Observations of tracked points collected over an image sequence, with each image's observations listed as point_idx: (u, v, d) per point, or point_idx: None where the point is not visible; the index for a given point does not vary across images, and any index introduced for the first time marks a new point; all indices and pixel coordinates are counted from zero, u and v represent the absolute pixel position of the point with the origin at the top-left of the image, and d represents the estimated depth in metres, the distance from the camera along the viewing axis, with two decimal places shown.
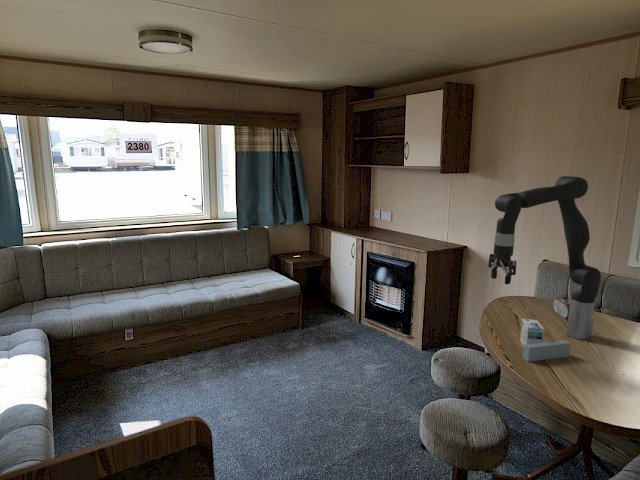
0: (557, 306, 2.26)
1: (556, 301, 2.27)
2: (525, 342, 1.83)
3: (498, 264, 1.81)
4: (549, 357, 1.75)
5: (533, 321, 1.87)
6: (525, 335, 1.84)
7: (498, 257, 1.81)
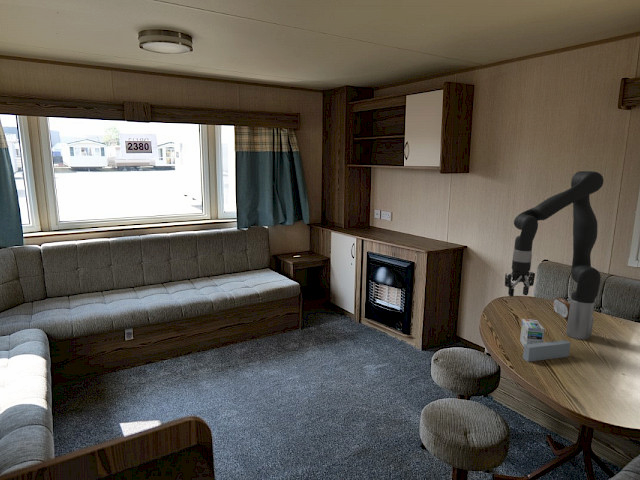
0: (557, 306, 2.26)
1: (556, 301, 2.27)
2: (525, 342, 1.83)
3: (520, 280, 1.90)
4: (549, 357, 1.75)
5: (533, 321, 1.87)
6: (525, 335, 1.84)
7: (519, 274, 1.90)
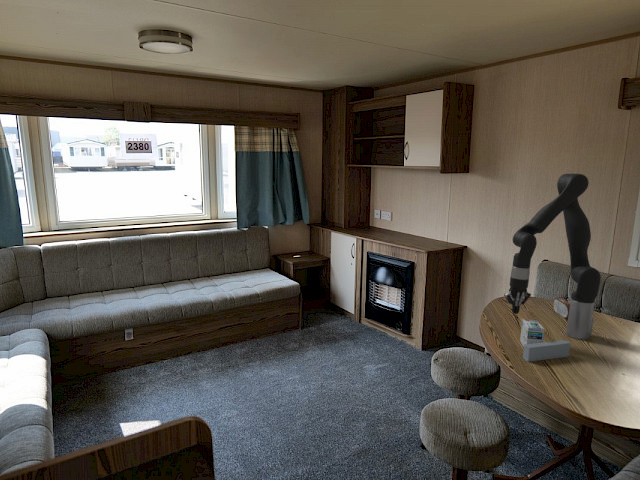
0: (557, 306, 2.26)
1: (556, 301, 2.27)
2: (525, 342, 1.83)
3: (519, 295, 1.92)
4: (549, 357, 1.75)
5: (533, 321, 1.87)
6: (525, 335, 1.84)
7: (517, 290, 1.91)
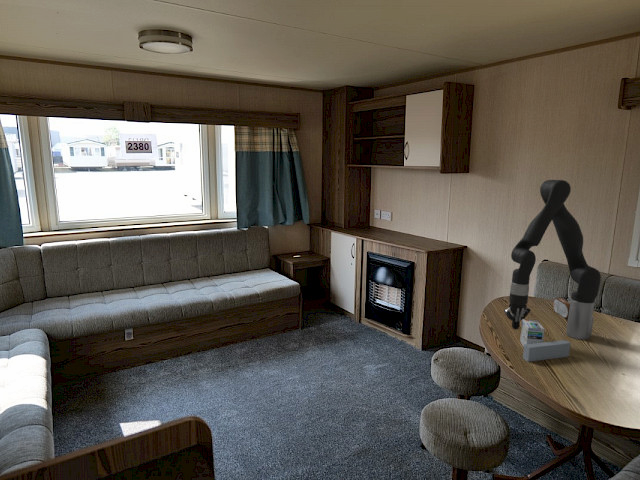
0: (557, 306, 2.26)
1: (556, 301, 2.27)
2: (525, 342, 1.83)
3: (519, 310, 1.93)
4: (549, 357, 1.75)
5: (533, 321, 1.87)
6: (525, 335, 1.84)
7: (517, 306, 1.92)
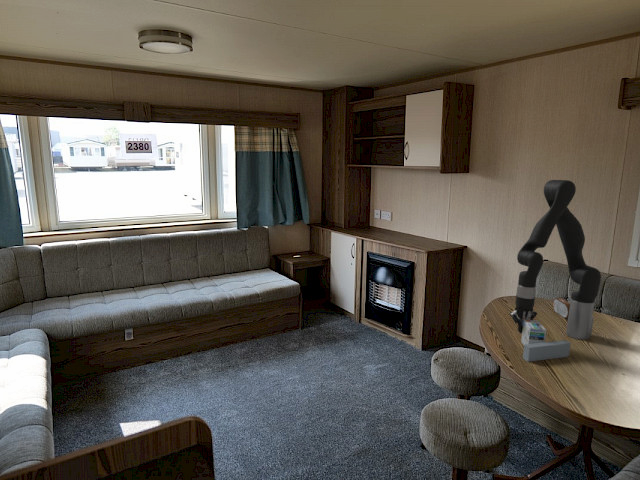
0: (557, 306, 2.26)
1: (556, 301, 2.27)
2: (527, 343, 1.82)
3: (525, 314, 1.89)
4: (549, 357, 1.75)
5: (534, 322, 1.86)
6: (527, 336, 1.83)
7: (523, 309, 1.88)
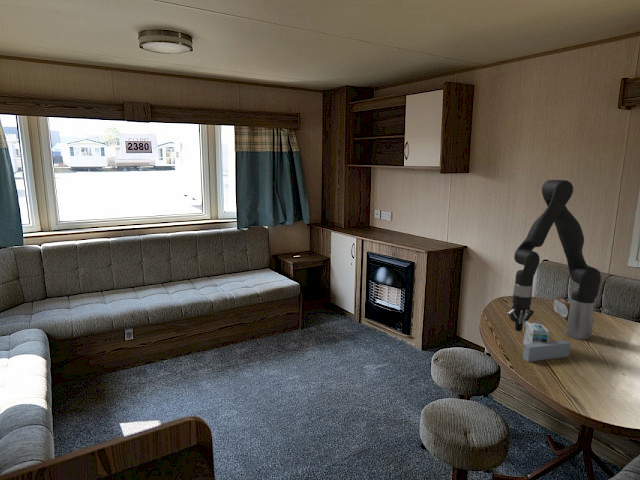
0: (557, 306, 2.26)
1: (556, 301, 2.27)
2: None
3: (522, 312, 1.91)
4: (549, 357, 1.75)
5: (537, 323, 1.85)
6: (529, 338, 1.81)
7: (520, 308, 1.90)
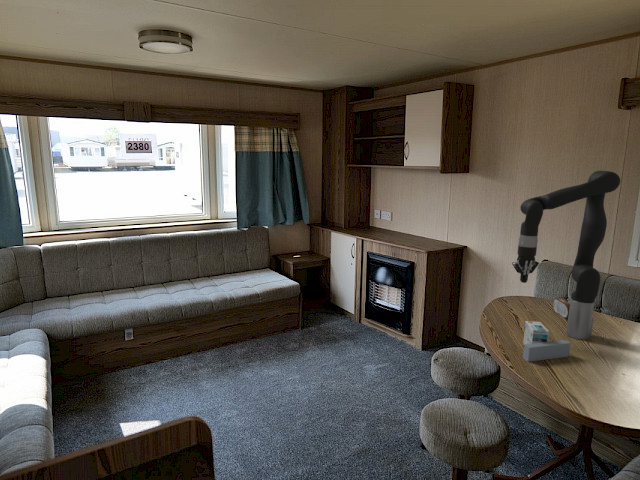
0: (557, 306, 2.26)
1: (556, 301, 2.27)
2: None
3: (527, 263, 1.92)
4: (549, 357, 1.75)
5: (537, 323, 1.85)
6: (529, 338, 1.81)
7: (525, 259, 1.91)
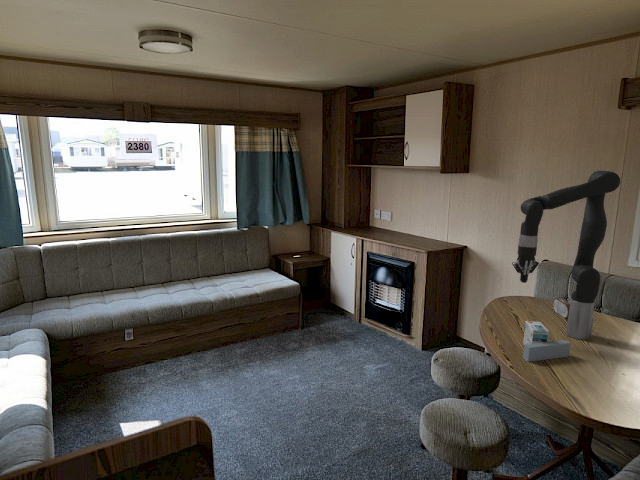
0: (557, 306, 2.26)
1: (556, 301, 2.27)
2: None
3: (527, 263, 1.92)
4: (549, 357, 1.75)
5: (537, 323, 1.85)
6: (529, 338, 1.81)
7: (525, 259, 1.91)
